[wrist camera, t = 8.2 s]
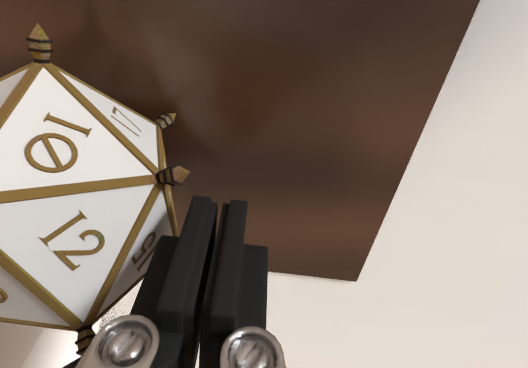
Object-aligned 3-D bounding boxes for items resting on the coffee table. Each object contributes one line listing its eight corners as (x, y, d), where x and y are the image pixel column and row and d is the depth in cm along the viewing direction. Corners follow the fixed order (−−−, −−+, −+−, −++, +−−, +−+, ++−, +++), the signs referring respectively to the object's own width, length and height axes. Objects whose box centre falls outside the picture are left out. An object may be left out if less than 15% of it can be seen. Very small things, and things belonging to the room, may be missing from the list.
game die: (120, 127, 18) (-98, 276, 13) (57, -60, 11) (-469, 115, 6) (258, 232, 16) (56, 461, 11) (293, 83, 9) (-249, 550, 4)
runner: (-365, -145, 10) (-369, -145, 10) (482, -9, 11) (483, -9, 11) (-119, 224, 18) (-121, 225, 18) (356, 280, 19) (356, 281, 19)
